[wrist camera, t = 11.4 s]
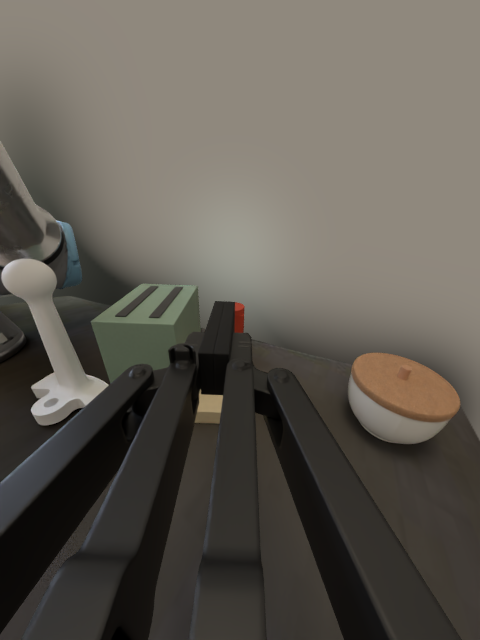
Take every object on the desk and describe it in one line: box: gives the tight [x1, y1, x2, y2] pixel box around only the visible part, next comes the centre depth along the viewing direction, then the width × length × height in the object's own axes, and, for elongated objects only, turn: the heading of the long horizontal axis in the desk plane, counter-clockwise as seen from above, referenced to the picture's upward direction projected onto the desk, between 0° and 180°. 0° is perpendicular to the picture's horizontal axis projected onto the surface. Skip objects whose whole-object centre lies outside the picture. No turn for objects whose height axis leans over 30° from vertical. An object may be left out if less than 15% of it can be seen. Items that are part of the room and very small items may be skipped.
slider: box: [235, 302, 244, 333], centre depth 33 cm, size 3×3×11 cm
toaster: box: [91, 284, 223, 424], centre depth 33 cm, size 16×18×14 cm
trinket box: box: [348, 353, 460, 444], centre depth 28 cm, size 11×11×9 cm
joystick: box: [1, 259, 109, 425], centre depth 27 cm, size 11×8×20 cm
